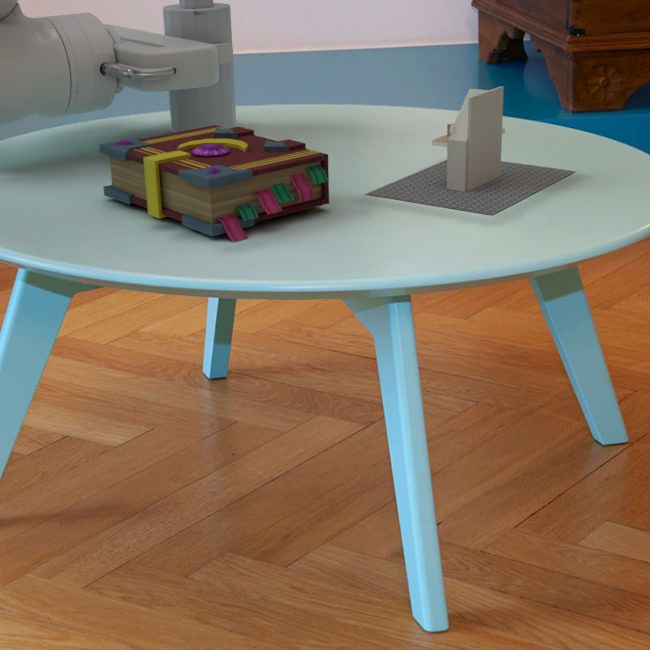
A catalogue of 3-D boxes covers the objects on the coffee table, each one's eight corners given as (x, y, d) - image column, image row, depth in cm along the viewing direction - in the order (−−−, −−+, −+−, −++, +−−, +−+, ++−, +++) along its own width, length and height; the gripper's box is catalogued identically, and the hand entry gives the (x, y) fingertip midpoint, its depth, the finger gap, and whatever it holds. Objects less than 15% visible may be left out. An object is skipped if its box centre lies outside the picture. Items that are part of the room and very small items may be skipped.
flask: (175, 138, 110) (162, -33, 104) (169, 125, 116) (157, -39, 110) (240, 134, 112) (231, -36, 105) (231, 121, 117) (222, -41, 111)
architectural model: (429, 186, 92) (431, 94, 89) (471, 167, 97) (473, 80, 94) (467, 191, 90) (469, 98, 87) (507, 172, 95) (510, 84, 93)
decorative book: (219, 174, 97) (216, 116, 95) (343, 212, 86) (342, 147, 84) (103, 199, 90) (97, 137, 89) (220, 245, 79) (216, 175, 77)
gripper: (131, 40, 95) (266, 23, 102) (27, 18, 110) (152, 5, 118) (137, 115, 97) (269, 93, 105) (35, 84, 112) (157, 67, 120)
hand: (206, 47), depth 111 cm, fingers closed on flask, 7 cm apart
